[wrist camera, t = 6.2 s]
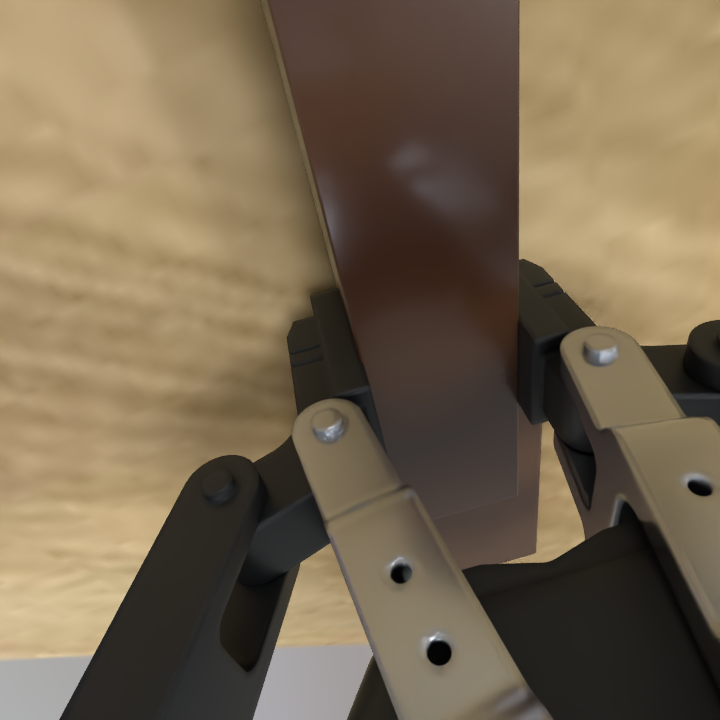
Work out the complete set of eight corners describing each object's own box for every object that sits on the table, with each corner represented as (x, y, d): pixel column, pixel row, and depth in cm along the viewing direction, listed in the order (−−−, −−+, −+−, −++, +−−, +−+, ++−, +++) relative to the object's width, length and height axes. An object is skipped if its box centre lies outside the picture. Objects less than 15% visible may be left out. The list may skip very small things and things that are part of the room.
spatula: (-15, -372, 6) (-212, -616, 3) (555, -511, 6) (807, -854, 4) (365, 583, 22) (385, 677, 19) (528, 536, 22) (570, 623, 19)
